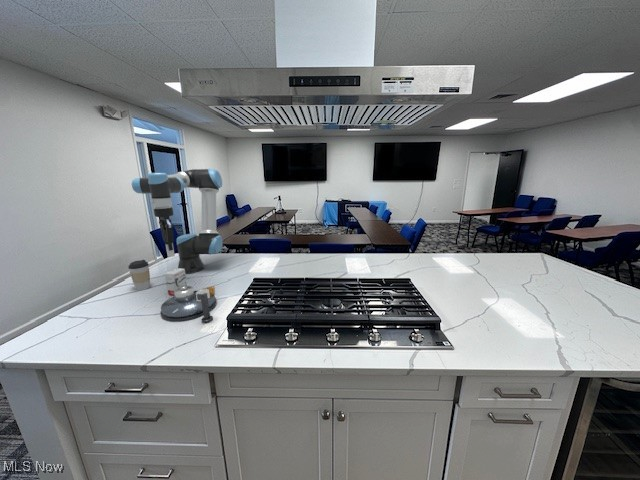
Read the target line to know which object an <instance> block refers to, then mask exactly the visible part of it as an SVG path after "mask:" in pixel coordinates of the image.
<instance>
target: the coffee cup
mask: <svg viewBox="0 0 640 480" xmlns="http://www.w3.org/2000/svg"><path fill="white" fill-rule="evenodd" d="M149 265H150V263H149V262H147V261H146V259H141V260H135V261H132V262H130V263H129V265H128V270H129V274H130V277H131V280H132V283H133V285H134V288H135V290H136V291H142V290H146V289H149V288H150V287H151V275H150V274H151V273H150V268H149Z"/></svg>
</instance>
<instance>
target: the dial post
mask: <svg viewBox="0 0 640 480" xmlns="http://www.w3.org/2000/svg"><path fill="white" fill-rule="evenodd" d="M197 291H198V292H196V298H197V301H201V302H202V309H203V316H202V318H201V323H203V324H208V323H211V322H213V321H214V316H213V315H211V311H210V310H209V303H208V298H210V294H209V289H203V288H200V289H199V290H197Z"/></svg>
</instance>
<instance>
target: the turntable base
mask: <svg viewBox="0 0 640 480" xmlns="http://www.w3.org/2000/svg"><path fill="white" fill-rule="evenodd" d="M217 301H218V300H217V298H216V297H215V303H214V305H213V306H212V307H211V308H209V310H210V312H211V311H213V310H214V309H215V308H216V307H217V304H218V302H217ZM160 317H161V319H162V320H164V321H166V322H170V323H171V322H173V323H175V322H177V323H178V322H186V321H187V322H188V321H191V320H195V319H197V318H200V317H204V316H203V312H202V313H200V314H197V315H194V316H190V317H185V318H168V317H165V316H164V315H162V312H161V311H160Z"/></svg>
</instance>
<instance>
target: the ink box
mask: <svg viewBox="0 0 640 480" xmlns="http://www.w3.org/2000/svg"><path fill="white" fill-rule="evenodd" d="M164 276H165V283H166V287H167V293H168V295H169V296H175V294H174V291H175V290H176V289H178V288H180V287H181V286H188V281H187V277H186V276H187V275H186V274H185V269H181V268H178V267H175V268H173V269H172V270H169V271H167V272H165V274H164Z"/></svg>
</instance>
